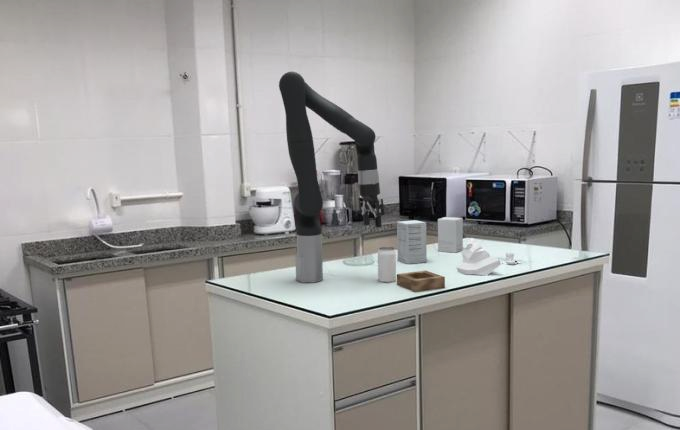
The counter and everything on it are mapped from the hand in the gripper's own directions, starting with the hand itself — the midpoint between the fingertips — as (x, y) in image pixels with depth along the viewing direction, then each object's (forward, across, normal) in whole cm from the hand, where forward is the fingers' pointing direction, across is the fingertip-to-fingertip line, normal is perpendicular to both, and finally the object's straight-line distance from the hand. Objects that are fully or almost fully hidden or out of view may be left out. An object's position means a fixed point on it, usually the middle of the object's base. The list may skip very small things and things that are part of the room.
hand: (372, 226), depth 217 cm
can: (+20, +6, +1) cm, 21 cm away
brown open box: (+20, +19, +6) cm, 28 cm away
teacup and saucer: (+24, +5, +57) cm, 62 cm away
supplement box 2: (+23, -29, +56) cm, 67 cm away
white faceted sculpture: (+23, +12, +37) cm, 45 cm away
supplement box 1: (+21, -18, +28) cm, 40 cm away
